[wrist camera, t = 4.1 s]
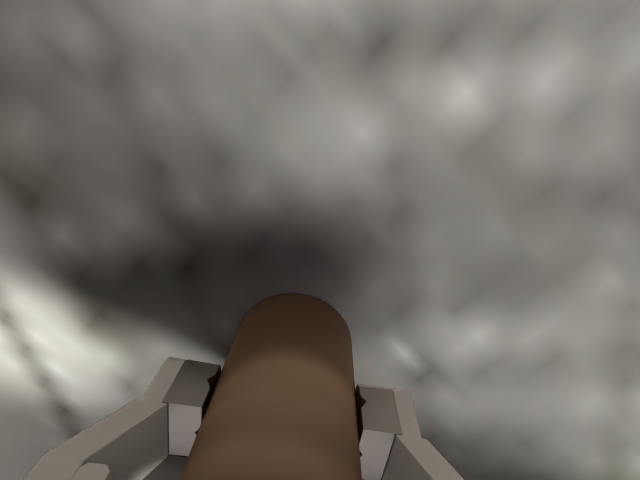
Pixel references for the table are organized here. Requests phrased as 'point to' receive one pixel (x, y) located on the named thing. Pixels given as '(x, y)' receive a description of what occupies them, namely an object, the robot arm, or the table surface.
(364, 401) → the robot arm
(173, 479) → the housing
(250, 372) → the brown rounded cylinder
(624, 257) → the table surface
